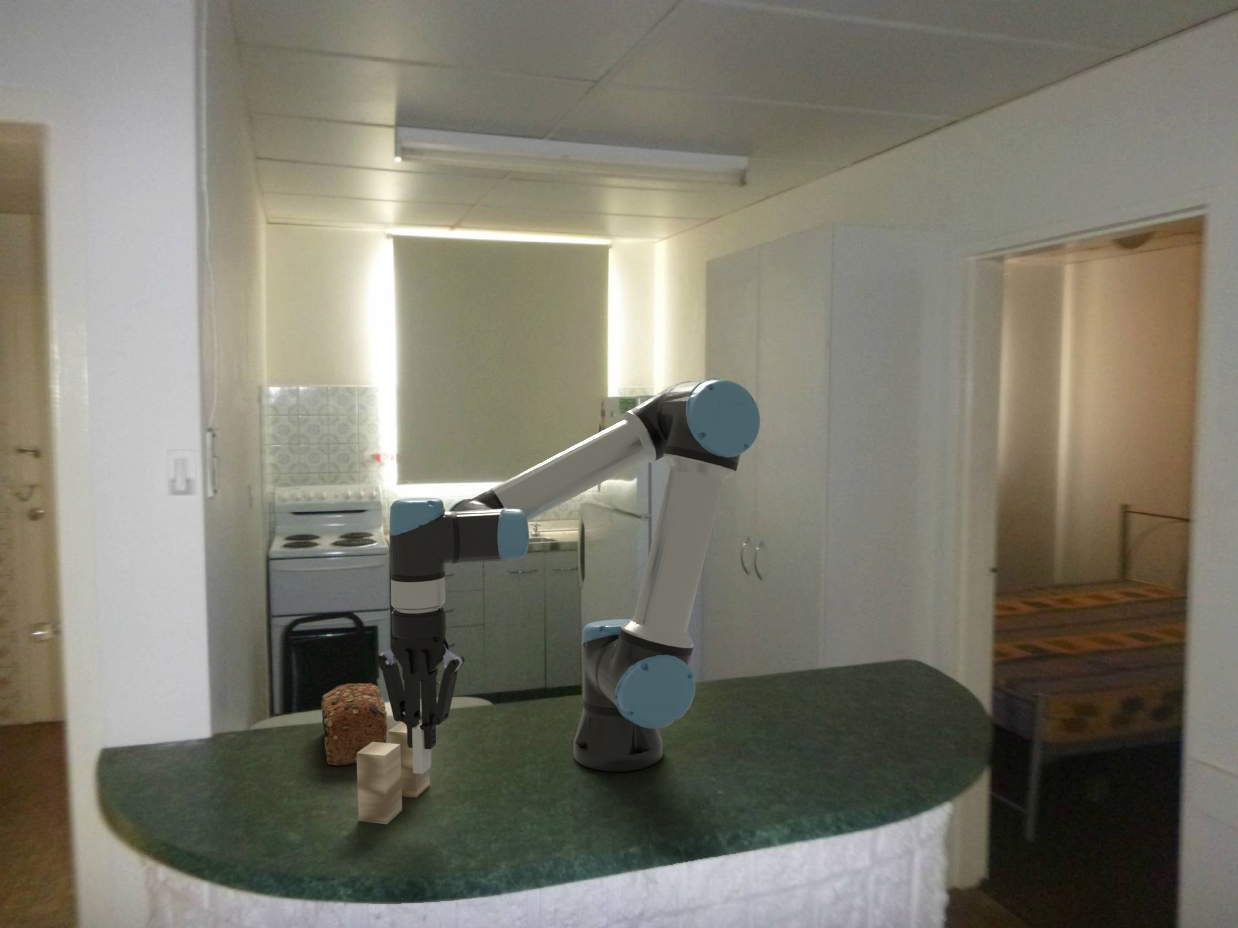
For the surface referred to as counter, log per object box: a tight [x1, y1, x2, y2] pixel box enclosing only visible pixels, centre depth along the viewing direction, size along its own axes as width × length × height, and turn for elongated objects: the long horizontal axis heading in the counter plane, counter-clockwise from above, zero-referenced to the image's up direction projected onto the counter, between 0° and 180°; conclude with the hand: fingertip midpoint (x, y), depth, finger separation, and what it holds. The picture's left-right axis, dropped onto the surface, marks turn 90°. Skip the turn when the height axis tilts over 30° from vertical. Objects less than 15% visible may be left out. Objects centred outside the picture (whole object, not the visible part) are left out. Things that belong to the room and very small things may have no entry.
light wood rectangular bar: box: [356, 742, 403, 825], centre depth 131 cm, size 4×4×10 cm
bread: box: [320, 682, 388, 766], centre depth 158 cm, size 19×11×10 cm, turn 19°
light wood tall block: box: [387, 721, 431, 799], centre depth 139 cm, size 4×4×10 cm
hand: (422, 769), depth 129 cm, fingers closed
